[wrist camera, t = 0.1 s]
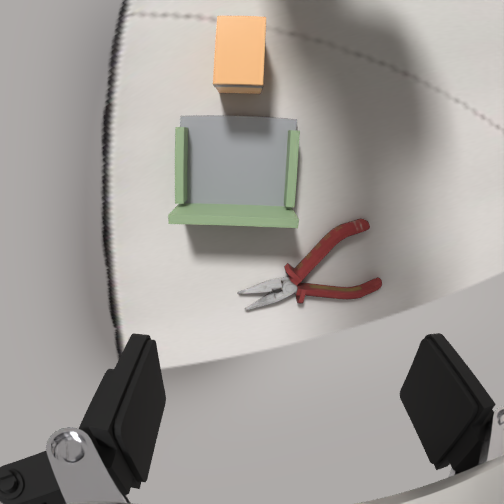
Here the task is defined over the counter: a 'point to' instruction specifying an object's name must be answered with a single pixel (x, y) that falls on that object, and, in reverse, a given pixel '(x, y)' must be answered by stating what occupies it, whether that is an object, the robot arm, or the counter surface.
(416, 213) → the counter surface
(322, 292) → the pliers
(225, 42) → the chute block
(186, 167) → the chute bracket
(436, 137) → the counter surface
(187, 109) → the counter surface
